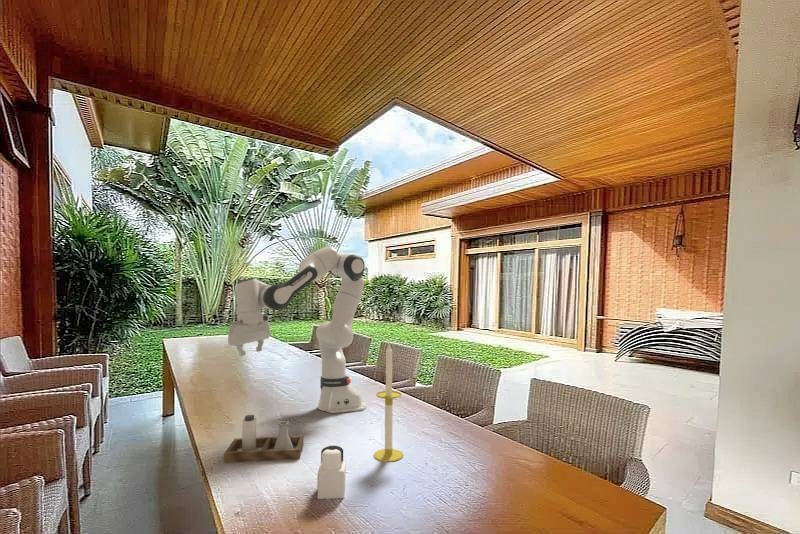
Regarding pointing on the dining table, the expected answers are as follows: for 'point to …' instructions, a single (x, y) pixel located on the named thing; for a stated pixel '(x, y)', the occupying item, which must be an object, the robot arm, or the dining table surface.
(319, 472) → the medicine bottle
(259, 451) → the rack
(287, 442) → the flask
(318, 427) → the dining table surface
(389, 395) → the candle
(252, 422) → the white capped tube
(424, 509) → the dining table surface
